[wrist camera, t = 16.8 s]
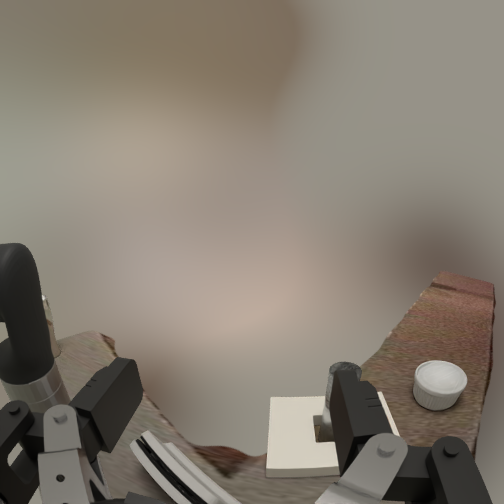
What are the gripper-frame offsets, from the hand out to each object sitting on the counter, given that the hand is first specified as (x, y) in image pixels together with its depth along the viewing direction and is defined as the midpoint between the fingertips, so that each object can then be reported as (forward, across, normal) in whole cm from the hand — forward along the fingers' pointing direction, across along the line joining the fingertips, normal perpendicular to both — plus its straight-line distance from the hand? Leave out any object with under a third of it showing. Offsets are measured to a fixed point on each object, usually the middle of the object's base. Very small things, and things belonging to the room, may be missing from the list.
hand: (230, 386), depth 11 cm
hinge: (+11, +9, +30) cm, 34 cm away
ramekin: (+30, -33, +30) cm, 54 cm away
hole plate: (+23, -11, +30) cm, 39 cm away
